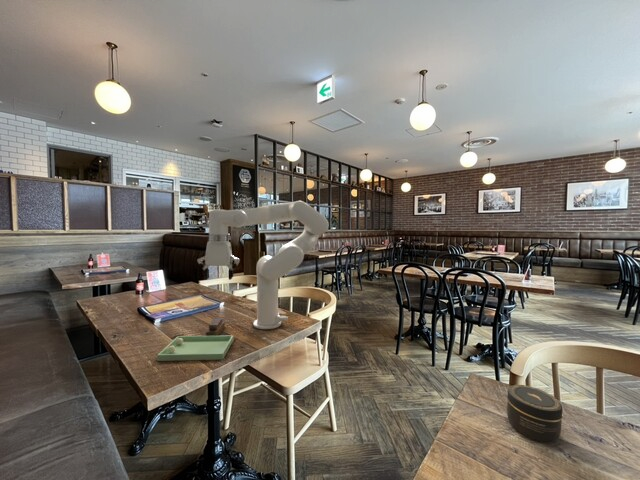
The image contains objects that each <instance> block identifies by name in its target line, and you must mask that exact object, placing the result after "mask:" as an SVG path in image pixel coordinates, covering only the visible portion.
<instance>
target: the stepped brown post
mask: <svg viewBox="0 0 640 480" xmlns="http://www.w3.org/2000/svg"><path fill="white" fill-rule="evenodd" d="M225 323H226V322H225V320H223V318H221V317H215V318H214V319H212V321H211V322H210V323H209V324H208V329H207V330H206V331H205V336H221V334H222V332H223V331H224V329H225V325H226V324H225Z"/></svg>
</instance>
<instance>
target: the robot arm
mask: <svg viewBox="0 0 640 480" xmlns="http://www.w3.org/2000/svg"><path fill="white" fill-rule="evenodd" d="M293 221H298V222H299V223H300V224H302V225H304V226H303V231H302V233H301V234H300V235H299V236H297V237H295V238H294V239H293V240H291V241H289V242H287V243H285V244H284V245H282V246H281V247H280V248H279V249H278V252H277V253H276V254H275V255H273V256H272V255H263V256H261V257H260V258H259V259H258V261H257V262H256V271H255V272H256V319H255V320H254V321H253V323H252V324H253V327H254V328H255V329H258V330H274V329H276V328H277V329H278V328H279V327H280V326H281V325H282V322H288V321H289V317H288V316H286V315H280V312H279V279H281V278H283V277H284V276H285V275H287V274H289V273H290V272H291V271H293V270H295V269H297V268H298V267H299V266H300V265H301V264H302V262H303V261H304V258H305V255H306V254H307V253H308V252H310V251H311V250H312V249H314V248H315V246H316V245H317V243H318V240H319V237H320V235H324V234H325V233H326V232H327V231H328V230H329V226H330V224H329V220H328V219H327V218H326V217H325V216H324V215H323V214H321V213H320V212H319V211H317V210H316V209H315V208H314V207H312V206H311V205H309V204H308V203H306V202H305V201H303V200H296V201H290V202H283V203H272V204H266V205H261V206H258V207H254V208H253V207H252V208H245V209H228V210H227V209H210V210H209V212H208V241H207V243H206V249H205V255H204V256H201V257H200V258H197V259H196V260H197V263H198V264H199V267H200V268H202V270H203V278H204V280H206V281H207V280H208V279H210V269H209V268H210V267H227V268H228V269H229V270H228V280H232V279H233V277H234V270H235V269H236V268H237V266H239V263H240V261H241V259H240V258H238V257H236V256H234V255H233V253H232V251H233V250H232V244H231V242H230V240H232V238H233V237H232V236H230V235H229V227H232V228H233V227H234V228H242V227H246V226H252V225H253V226H254V225H270V224H271V225H272V224H279V223H285V222H293ZM203 261H205V262H203ZM233 261H234V264H233Z"/></svg>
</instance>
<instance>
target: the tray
mask: <svg viewBox="0 0 640 480" xmlns="http://www.w3.org/2000/svg"><path fill="white" fill-rule="evenodd" d="M234 336H235V335H234V334H233V335H232V334H231V335H230V334H229V335H219V336H206V335H178V336H176V337H175V338H174V339H173V340H172V341H170V343H169V344H167V345H166V346H165V347H164V348H163V349H162V350H161V351H160V352H159V353H158V354H156V359H157V360H156V361H157V362H171V361H172V362H174V361H212V360H213V361H215V360H216V361H218V360H224V358H225V356H226V355H227V353H228V351H229V349H230V348H231V345H232V344H233V342H234V340H235V339H234ZM178 338H182V339H183V343H182V344H181V345H178V344H176V340H177V339H178ZM170 346H175V351H174V352H173V353H169V352H168V348H169V347H170Z"/></svg>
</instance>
